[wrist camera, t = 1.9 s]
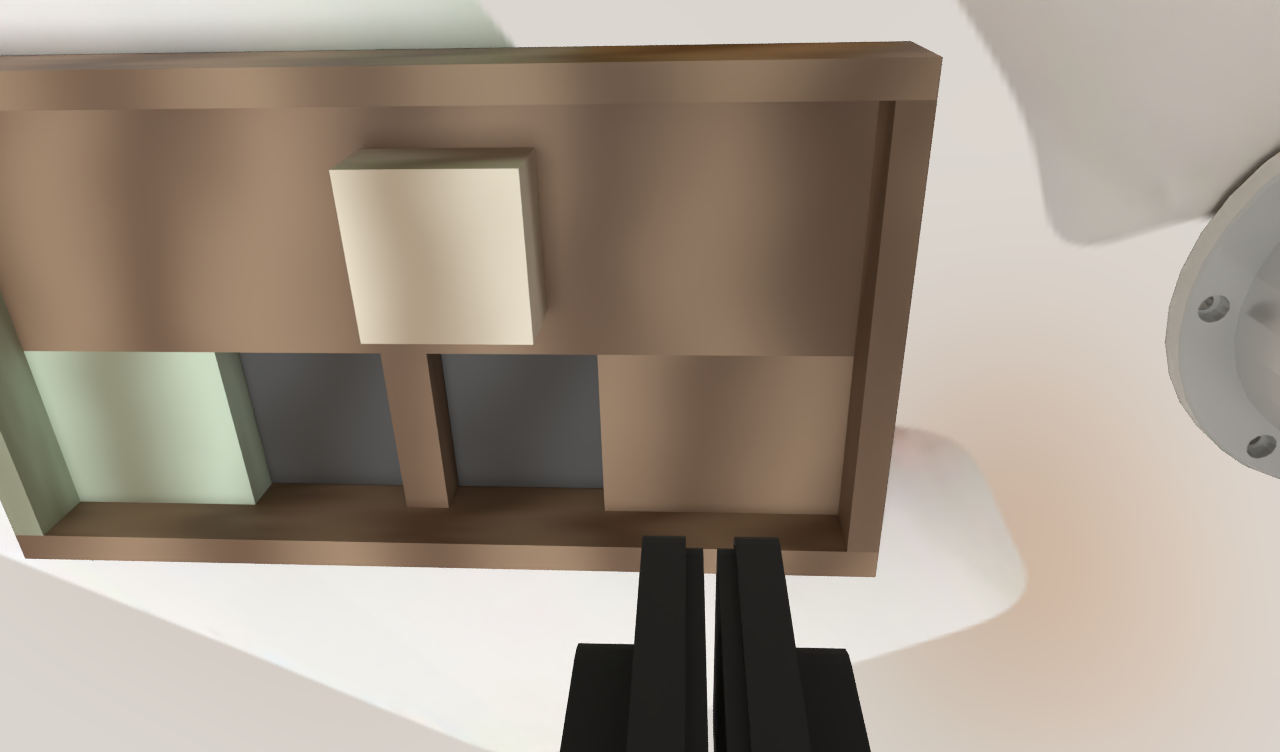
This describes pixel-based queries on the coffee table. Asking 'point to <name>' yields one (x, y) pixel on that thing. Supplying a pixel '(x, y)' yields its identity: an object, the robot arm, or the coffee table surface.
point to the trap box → (459, 373)
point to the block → (442, 244)
